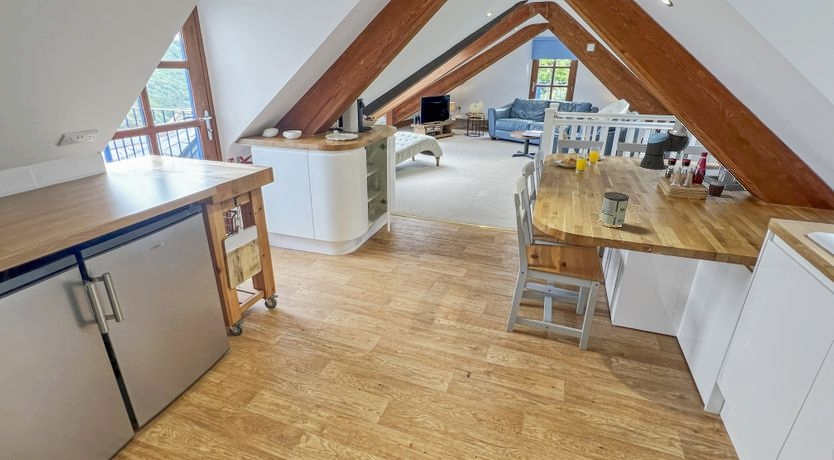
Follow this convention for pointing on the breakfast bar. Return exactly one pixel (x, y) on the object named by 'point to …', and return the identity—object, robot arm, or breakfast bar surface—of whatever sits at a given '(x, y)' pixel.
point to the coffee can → (614, 208)
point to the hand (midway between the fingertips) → (727, 178)
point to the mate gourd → (716, 187)
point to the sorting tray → (727, 186)
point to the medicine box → (726, 177)
